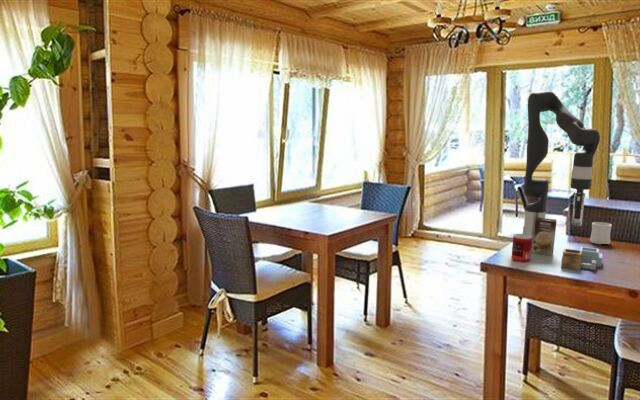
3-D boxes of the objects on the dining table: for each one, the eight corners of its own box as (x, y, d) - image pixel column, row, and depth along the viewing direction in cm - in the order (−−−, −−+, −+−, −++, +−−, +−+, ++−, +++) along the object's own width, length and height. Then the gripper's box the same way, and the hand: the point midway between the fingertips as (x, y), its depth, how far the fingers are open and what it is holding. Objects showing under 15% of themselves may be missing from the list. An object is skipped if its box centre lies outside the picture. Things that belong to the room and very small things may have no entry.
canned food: (529, 258, 221) (531, 234, 219) (530, 263, 213) (532, 238, 212) (511, 256, 223) (512, 233, 222) (511, 261, 216) (513, 236, 214)
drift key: (569, 266, 208) (570, 259, 207) (570, 264, 211) (570, 257, 211) (595, 270, 203) (596, 263, 202) (595, 268, 207) (596, 260, 206)
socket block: (561, 267, 207) (562, 252, 206) (563, 262, 215) (564, 247, 214) (579, 270, 203) (581, 255, 202) (581, 264, 212) (582, 249, 211)
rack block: (574, 263, 214) (576, 249, 213) (575, 258, 221) (577, 245, 220) (601, 266, 209) (602, 253, 208) (601, 262, 216) (602, 249, 215)
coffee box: (531, 253, 229) (534, 219, 227) (532, 250, 235) (535, 217, 232) (553, 255, 225) (556, 221, 223) (553, 252, 231) (556, 219, 229)
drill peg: (571, 225, 206) (573, 202, 205) (571, 223, 210) (574, 200, 208) (581, 226, 205) (583, 203, 203) (581, 225, 208) (584, 201, 206)
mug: (613, 245, 246) (616, 225, 245) (595, 245, 247) (597, 225, 245) (600, 239, 259) (602, 220, 257) (582, 239, 259) (584, 220, 257)
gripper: (591, 179, 196) (586, 222, 199) (592, 176, 208) (588, 216, 211) (570, 178, 200) (566, 219, 202) (572, 175, 212) (568, 214, 215)
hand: (577, 217), depth 207 cm, fingers closed on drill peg, 3 cm apart
